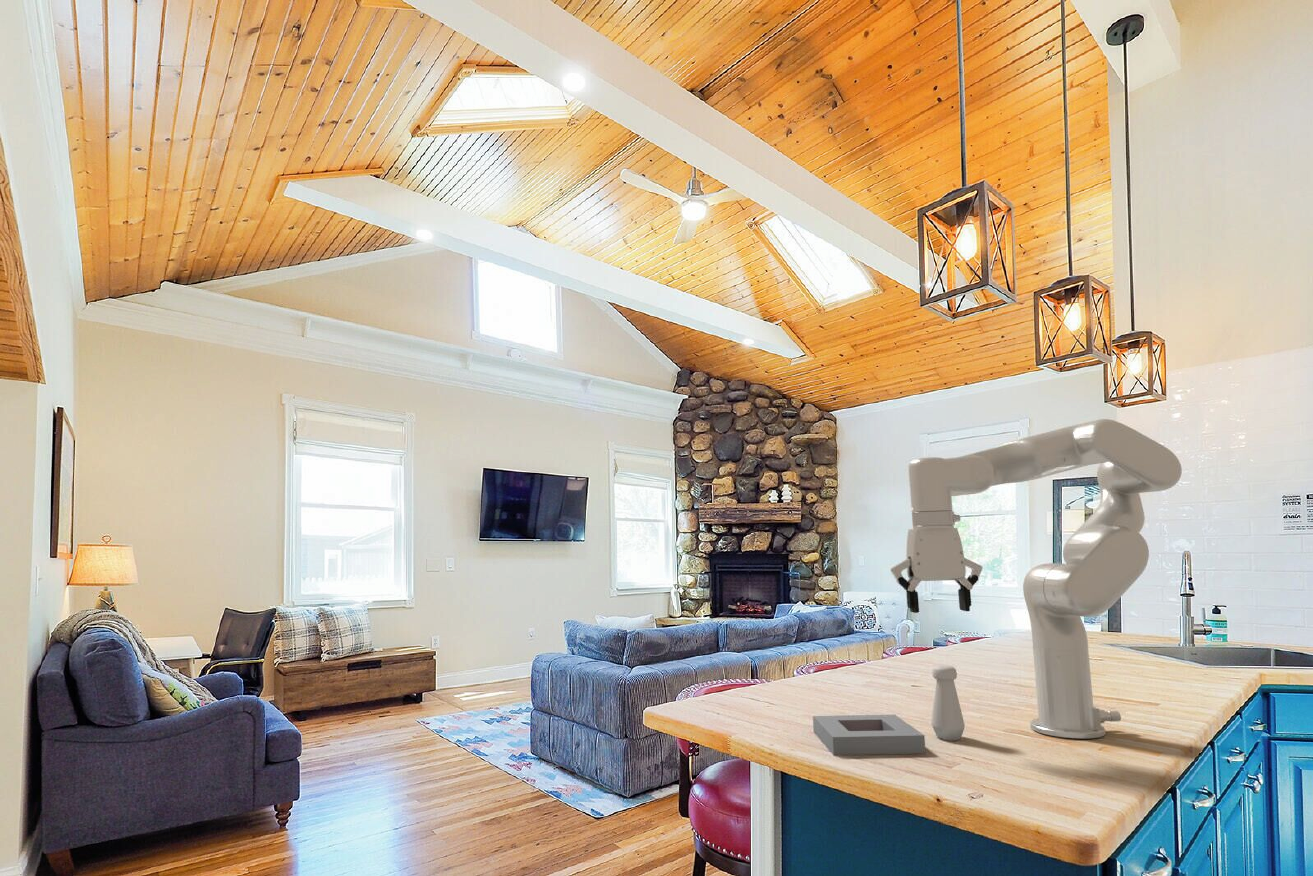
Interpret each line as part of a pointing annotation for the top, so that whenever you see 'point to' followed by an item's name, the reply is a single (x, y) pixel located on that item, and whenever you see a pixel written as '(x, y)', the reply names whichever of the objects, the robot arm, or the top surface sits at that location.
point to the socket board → (868, 735)
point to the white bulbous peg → (946, 705)
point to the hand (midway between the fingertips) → (939, 611)
